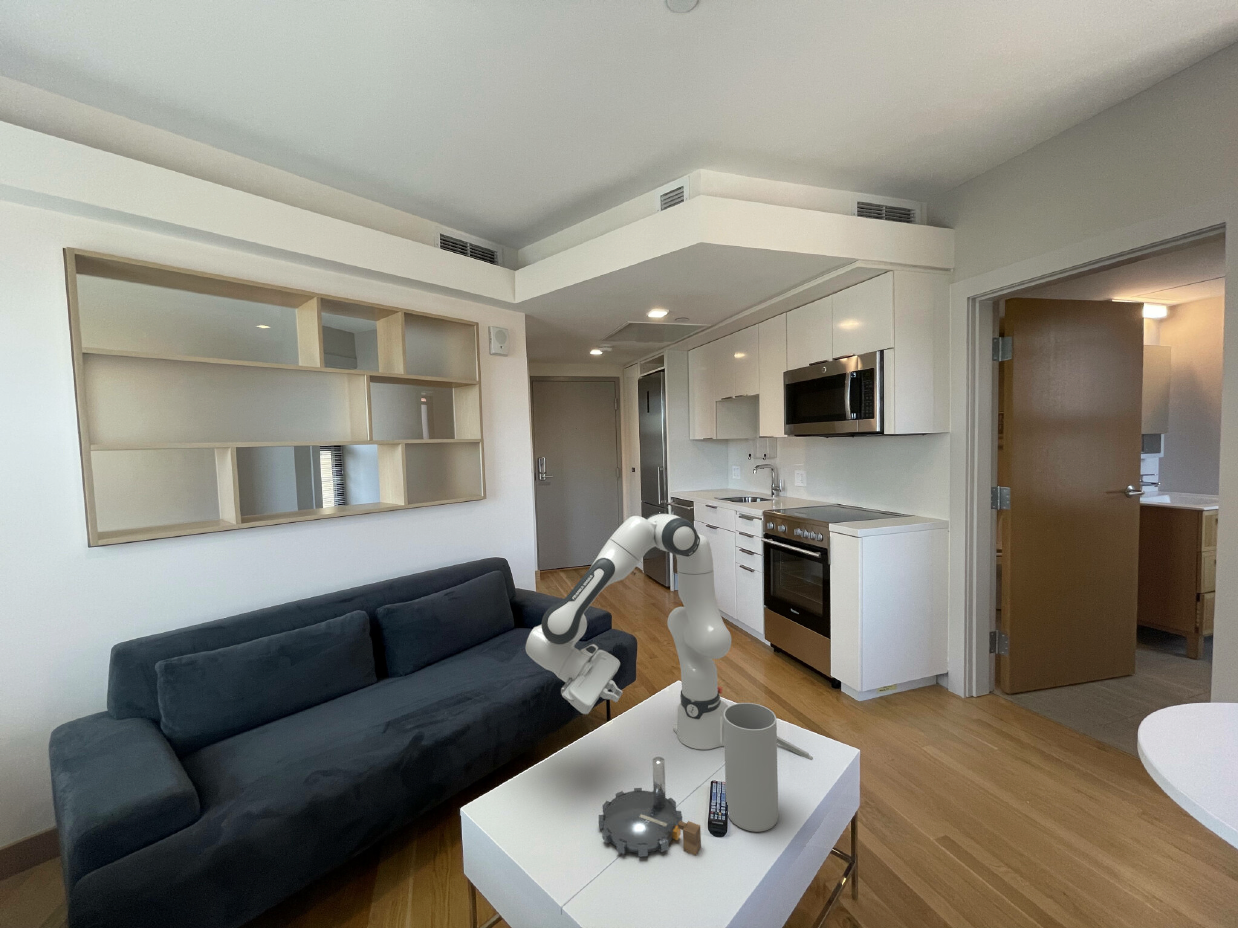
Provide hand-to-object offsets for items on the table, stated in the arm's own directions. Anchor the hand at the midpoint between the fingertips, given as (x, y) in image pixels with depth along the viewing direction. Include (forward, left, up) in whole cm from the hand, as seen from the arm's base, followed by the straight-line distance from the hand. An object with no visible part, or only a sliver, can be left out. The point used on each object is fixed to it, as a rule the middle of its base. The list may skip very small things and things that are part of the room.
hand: (619, 697), depth 139 cm
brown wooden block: (+10, +25, -25) cm, 36 cm away
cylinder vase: (-7, +33, -25) cm, 42 cm away
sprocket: (+10, +11, -25) cm, 29 cm away
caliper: (-38, +31, -25) cm, 55 cm away
